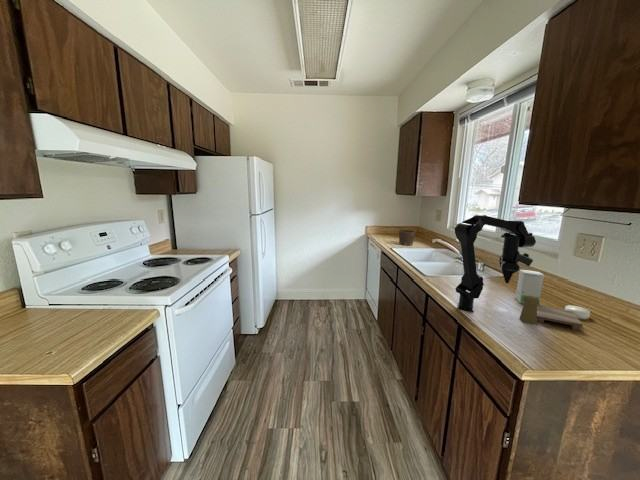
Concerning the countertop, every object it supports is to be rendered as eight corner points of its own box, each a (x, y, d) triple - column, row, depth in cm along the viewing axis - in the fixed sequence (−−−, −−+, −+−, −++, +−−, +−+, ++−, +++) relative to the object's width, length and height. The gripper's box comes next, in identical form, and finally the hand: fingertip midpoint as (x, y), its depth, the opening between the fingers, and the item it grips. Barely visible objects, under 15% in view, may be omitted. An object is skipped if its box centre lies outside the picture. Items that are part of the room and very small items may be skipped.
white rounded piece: (592, 321, 112) (593, 314, 112) (567, 316, 116) (568, 310, 116) (585, 314, 119) (586, 307, 119) (561, 310, 123) (563, 303, 123)
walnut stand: (581, 331, 103) (582, 324, 102) (536, 322, 110) (537, 315, 109) (570, 317, 115) (572, 311, 114) (530, 310, 122) (531, 304, 121)
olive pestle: (531, 325, 107) (535, 300, 105) (515, 319, 113) (519, 295, 111) (540, 323, 110) (544, 298, 108) (524, 316, 115) (528, 293, 113)
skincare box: (518, 303, 130) (523, 272, 127) (514, 298, 136) (518, 269, 133) (539, 305, 127) (545, 274, 124) (534, 300, 133) (539, 271, 130)
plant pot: (412, 245, 269) (413, 230, 267) (416, 248, 254) (417, 232, 251) (396, 245, 271) (397, 229, 269) (398, 248, 256) (399, 231, 253)
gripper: (537, 253, 109) (531, 289, 111) (529, 246, 124) (524, 277, 127) (504, 250, 114) (499, 284, 117) (501, 243, 130) (496, 274, 133)
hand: (506, 280), depth 123 cm, fingers open, 9 cm apart
